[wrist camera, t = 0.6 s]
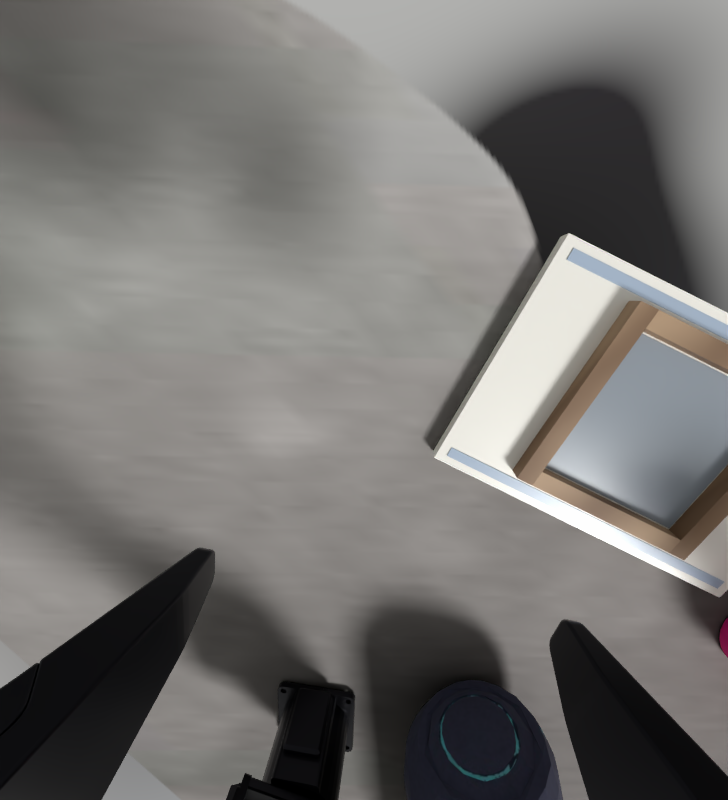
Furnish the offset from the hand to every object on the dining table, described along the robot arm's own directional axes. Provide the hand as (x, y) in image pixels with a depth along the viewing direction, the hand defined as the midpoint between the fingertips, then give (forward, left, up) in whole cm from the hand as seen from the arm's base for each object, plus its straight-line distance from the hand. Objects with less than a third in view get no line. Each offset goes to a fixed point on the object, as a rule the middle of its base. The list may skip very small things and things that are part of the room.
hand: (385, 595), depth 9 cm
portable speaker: (-31, -8, -15) cm, 36 cm away
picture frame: (0, -14, -14) cm, 20 cm away
